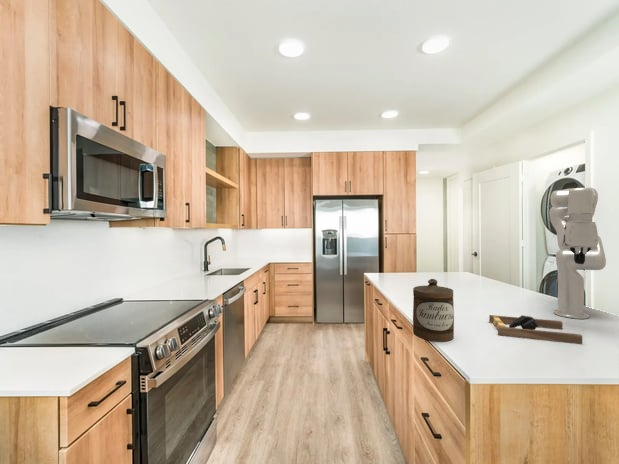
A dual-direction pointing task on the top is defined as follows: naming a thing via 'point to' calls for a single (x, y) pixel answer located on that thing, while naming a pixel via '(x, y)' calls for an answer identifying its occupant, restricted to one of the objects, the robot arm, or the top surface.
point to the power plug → (524, 323)
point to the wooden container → (433, 312)
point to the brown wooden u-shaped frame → (534, 334)
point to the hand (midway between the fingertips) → (579, 263)
